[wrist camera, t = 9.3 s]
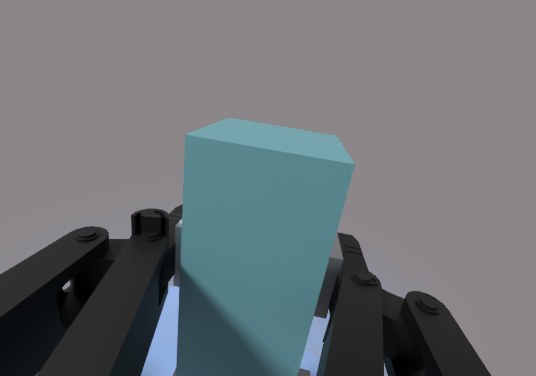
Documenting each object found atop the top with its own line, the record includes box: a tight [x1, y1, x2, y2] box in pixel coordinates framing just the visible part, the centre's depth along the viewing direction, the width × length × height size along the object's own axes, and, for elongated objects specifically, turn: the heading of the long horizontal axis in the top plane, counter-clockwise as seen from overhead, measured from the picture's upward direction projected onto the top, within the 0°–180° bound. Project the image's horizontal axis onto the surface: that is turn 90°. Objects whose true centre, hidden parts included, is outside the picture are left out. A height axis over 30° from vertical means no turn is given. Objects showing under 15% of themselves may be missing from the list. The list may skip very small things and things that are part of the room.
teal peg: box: [176, 118, 355, 376], centre depth 12 cm, size 5×5×12 cm
